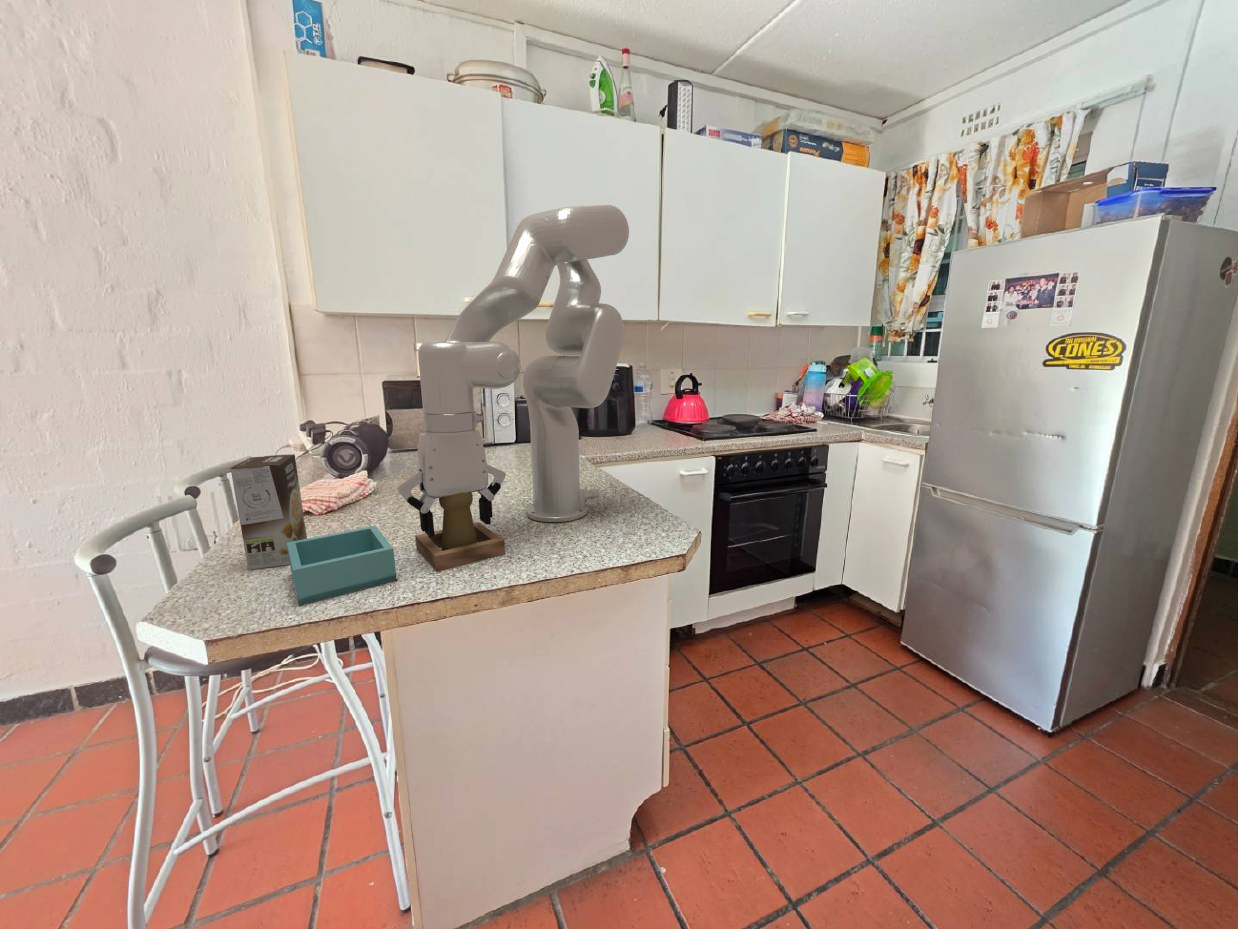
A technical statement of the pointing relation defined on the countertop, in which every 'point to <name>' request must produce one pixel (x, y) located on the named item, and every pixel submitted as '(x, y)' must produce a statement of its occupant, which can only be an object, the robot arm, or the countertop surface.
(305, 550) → the teal bin
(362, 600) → the countertop surface
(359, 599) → the countertop surface
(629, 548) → the countertop surface
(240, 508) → the coffee box
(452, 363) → the robot arm
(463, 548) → the walnut collar
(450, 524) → the cork
